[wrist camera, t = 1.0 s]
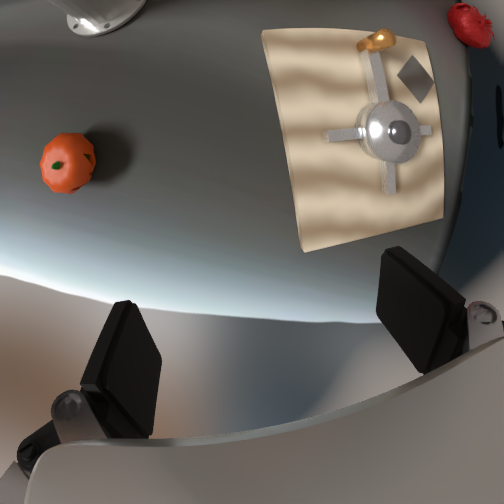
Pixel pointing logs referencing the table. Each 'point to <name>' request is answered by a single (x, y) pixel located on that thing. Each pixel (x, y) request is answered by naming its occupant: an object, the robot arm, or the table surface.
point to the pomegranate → (470, 25)
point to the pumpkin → (67, 162)
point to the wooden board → (349, 151)
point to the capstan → (382, 116)
